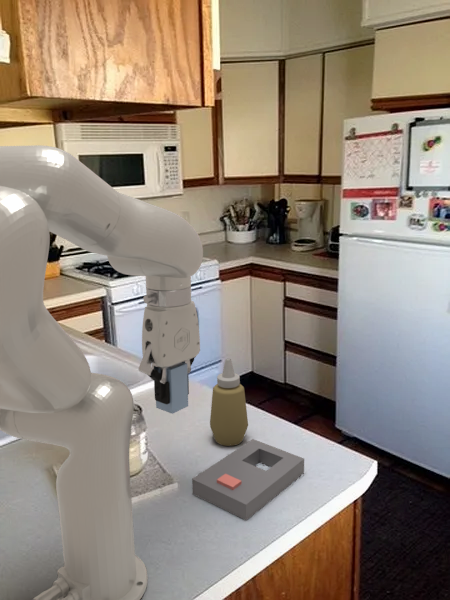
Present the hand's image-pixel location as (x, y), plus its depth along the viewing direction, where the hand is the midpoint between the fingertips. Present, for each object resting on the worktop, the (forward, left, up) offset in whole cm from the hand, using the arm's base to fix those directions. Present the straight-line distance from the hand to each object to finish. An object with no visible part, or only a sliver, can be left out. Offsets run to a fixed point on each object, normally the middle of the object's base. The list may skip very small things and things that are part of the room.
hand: (172, 396), depth 97 cm
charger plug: (0, 0, -2) cm, 2 cm away
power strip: (+8, -11, -17) cm, 22 cm away
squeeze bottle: (+18, +2, -17) cm, 25 cm away
